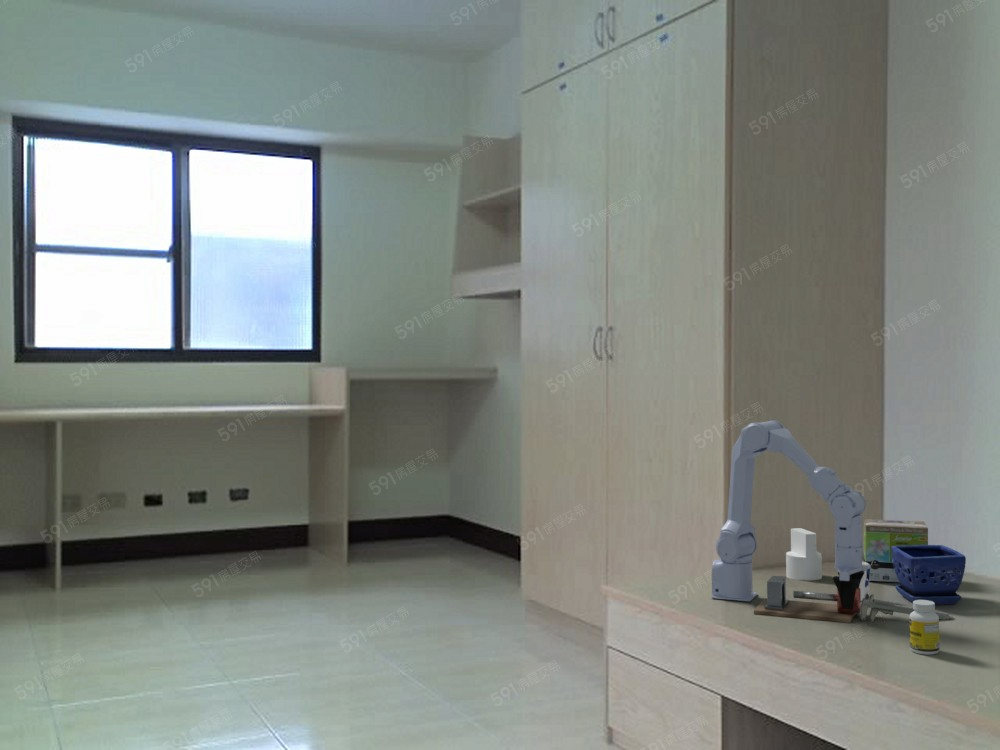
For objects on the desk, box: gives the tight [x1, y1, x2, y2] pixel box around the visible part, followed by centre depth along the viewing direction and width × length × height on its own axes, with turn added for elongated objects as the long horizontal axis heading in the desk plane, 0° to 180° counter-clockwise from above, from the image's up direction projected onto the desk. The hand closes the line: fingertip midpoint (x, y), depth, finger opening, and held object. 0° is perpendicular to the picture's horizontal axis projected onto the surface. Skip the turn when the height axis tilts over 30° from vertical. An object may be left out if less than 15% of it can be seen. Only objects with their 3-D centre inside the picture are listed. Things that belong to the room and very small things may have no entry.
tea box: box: [863, 518, 929, 583], centre depth 264 cm, size 15×10×15 cm, turn 73°
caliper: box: [860, 593, 955, 622], centre depth 225 cm, size 20×1×6 cm, turn 91°
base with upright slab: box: [785, 527, 823, 582], centre depth 269 cm, size 9×9×12 cm
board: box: [753, 597, 856, 624], centre depth 234 cm, size 21×12×1 cm, turn 64°
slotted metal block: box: [765, 575, 789, 611], centre depth 237 cm, size 4×8×6 cm, turn 154°
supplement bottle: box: [909, 600, 940, 656], centre depth 202 cm, size 5×5×10 cm
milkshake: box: [859, 559, 874, 602], centre depth 243 cm, size 4×5×10 cm
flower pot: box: [891, 544, 967, 606], centre depth 242 cm, size 13×13×12 cm
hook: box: [793, 587, 862, 615], centre depth 232 cm, size 14×5×6 cm, turn 64°
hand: (849, 606), depth 230 cm, fingers closed on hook, 5 cm apart
